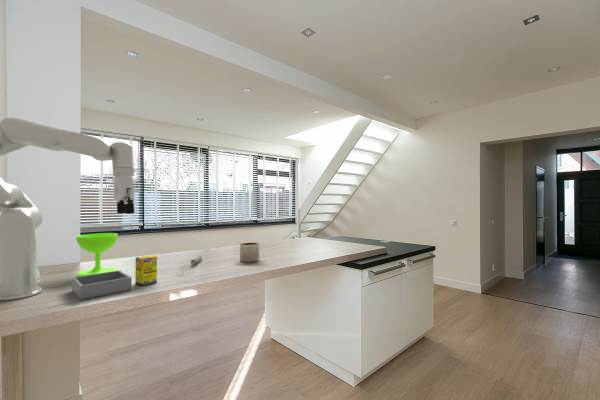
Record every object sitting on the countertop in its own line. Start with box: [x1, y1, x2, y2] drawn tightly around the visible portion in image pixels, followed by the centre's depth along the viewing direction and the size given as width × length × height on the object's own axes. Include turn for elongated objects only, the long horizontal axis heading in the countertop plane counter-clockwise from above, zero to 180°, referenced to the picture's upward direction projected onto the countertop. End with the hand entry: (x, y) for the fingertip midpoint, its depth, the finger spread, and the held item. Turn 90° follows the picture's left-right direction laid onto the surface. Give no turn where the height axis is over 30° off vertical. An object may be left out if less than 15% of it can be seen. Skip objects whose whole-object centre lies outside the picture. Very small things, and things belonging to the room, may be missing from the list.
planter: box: [239, 241, 260, 263], centre depth 163 cm, size 11×11×10 cm
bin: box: [71, 269, 132, 301], centre depth 109 cm, size 16×16×5 cm
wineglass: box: [75, 232, 119, 277], centre depth 134 cm, size 16×16×18 cm
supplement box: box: [134, 254, 158, 287], centre depth 119 cm, size 6×6×11 cm
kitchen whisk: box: [178, 255, 203, 273], centre depth 149 cm, size 6×34×6 cm, turn 6°
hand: (125, 213), depth 120 cm, fingers open, 9 cm apart
